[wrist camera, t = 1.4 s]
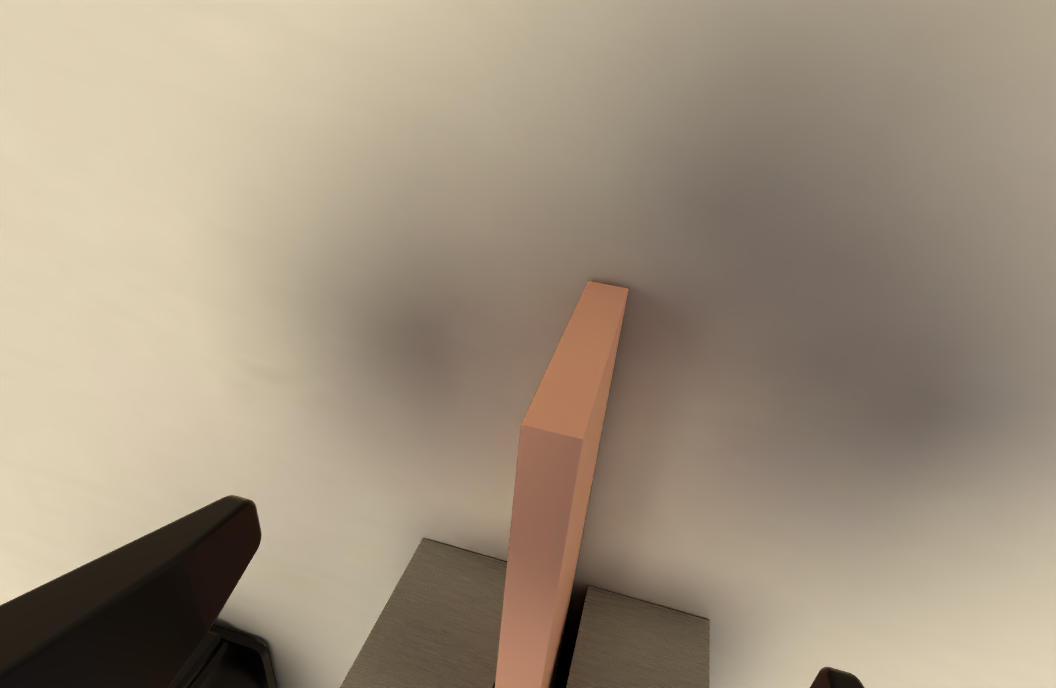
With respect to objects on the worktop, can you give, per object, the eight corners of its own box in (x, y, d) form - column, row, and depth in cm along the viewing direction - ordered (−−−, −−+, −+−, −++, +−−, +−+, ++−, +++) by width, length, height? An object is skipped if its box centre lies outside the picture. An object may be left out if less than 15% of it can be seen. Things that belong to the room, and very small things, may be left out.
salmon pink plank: (550, 701, 23) (506, 892, 18) (526, 693, 23) (475, 880, 18) (628, 288, 14) (582, 439, 9) (588, 280, 14) (521, 425, 9)
